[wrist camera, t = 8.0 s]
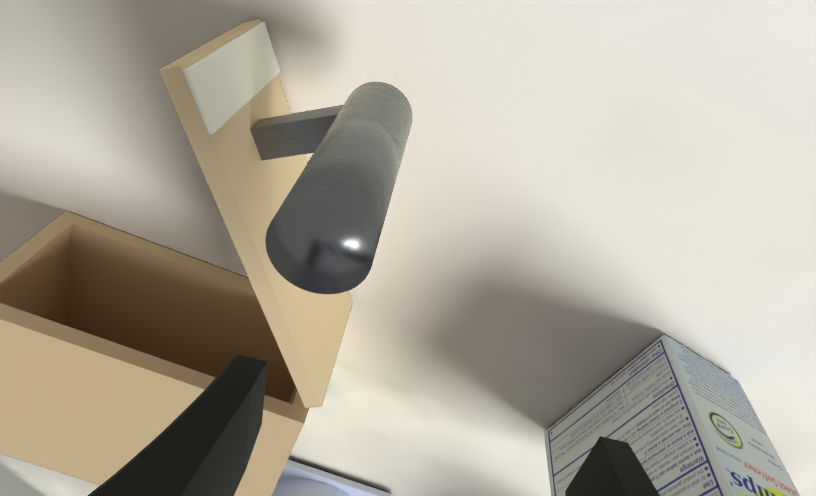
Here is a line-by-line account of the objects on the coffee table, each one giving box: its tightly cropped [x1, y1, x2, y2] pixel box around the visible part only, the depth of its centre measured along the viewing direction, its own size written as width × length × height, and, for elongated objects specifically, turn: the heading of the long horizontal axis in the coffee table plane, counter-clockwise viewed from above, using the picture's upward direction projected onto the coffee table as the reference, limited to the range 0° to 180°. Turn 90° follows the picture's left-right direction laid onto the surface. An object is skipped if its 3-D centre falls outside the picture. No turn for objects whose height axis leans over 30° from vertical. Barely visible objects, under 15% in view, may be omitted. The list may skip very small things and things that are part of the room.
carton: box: [0, 211, 309, 496], centre depth 23 cm, size 8×12×6 cm, turn 68°
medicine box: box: [544, 335, 800, 496], centre depth 22 cm, size 8×4×9 cm, turn 149°
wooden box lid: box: [158, 19, 412, 408], centre depth 16 cm, size 5×12×10 cm, turn 12°
